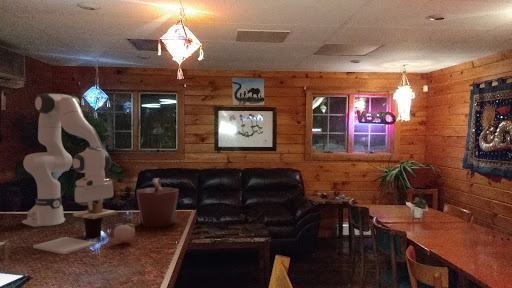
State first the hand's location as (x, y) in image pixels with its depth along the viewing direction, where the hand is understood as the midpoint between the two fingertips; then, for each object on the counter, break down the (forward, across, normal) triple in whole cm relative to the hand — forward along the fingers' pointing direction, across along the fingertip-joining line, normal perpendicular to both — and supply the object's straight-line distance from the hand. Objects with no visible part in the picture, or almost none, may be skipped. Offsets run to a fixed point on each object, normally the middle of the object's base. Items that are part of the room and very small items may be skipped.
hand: (95, 209), depth 188 cm
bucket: (+13, -34, +8) cm, 37 cm away
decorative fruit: (+13, +3, +22) cm, 26 cm away
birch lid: (+3, 0, 0) cm, 3 cm away
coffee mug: (+13, 0, 0) cm, 13 cm away
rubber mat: (+13, +18, +2) cm, 22 cm away
